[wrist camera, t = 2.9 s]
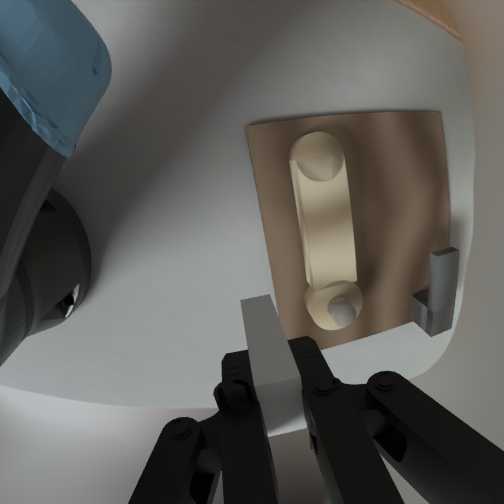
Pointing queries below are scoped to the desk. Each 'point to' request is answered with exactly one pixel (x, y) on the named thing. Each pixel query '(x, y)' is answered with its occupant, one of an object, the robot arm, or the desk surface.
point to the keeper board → (366, 221)
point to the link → (325, 230)
